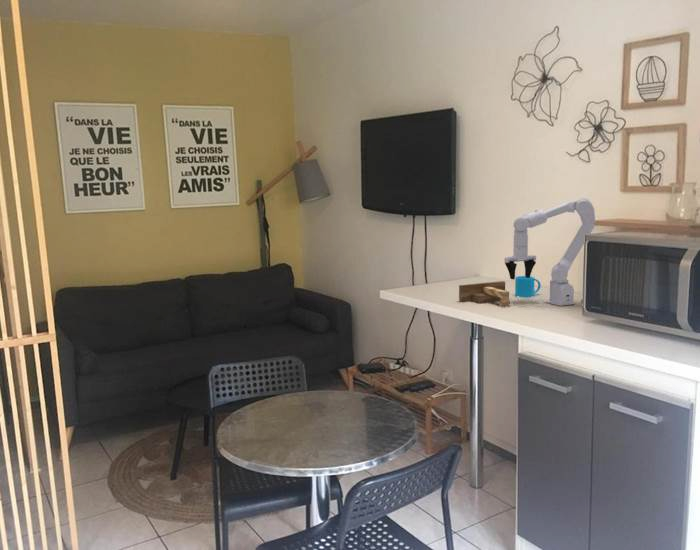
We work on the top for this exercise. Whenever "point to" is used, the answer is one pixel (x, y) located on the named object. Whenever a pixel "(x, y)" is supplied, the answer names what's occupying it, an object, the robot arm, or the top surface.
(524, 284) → the mug
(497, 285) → the stepped wooden block
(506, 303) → the rail
